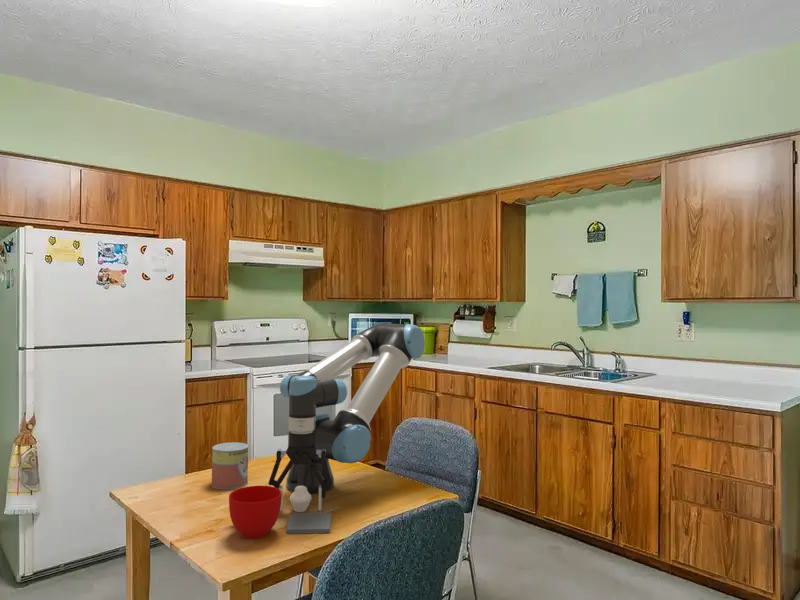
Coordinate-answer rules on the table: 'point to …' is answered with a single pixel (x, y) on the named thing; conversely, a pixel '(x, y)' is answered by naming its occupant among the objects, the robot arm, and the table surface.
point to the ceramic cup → (254, 510)
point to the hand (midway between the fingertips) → (300, 509)
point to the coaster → (309, 523)
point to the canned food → (229, 465)
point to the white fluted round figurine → (300, 499)
